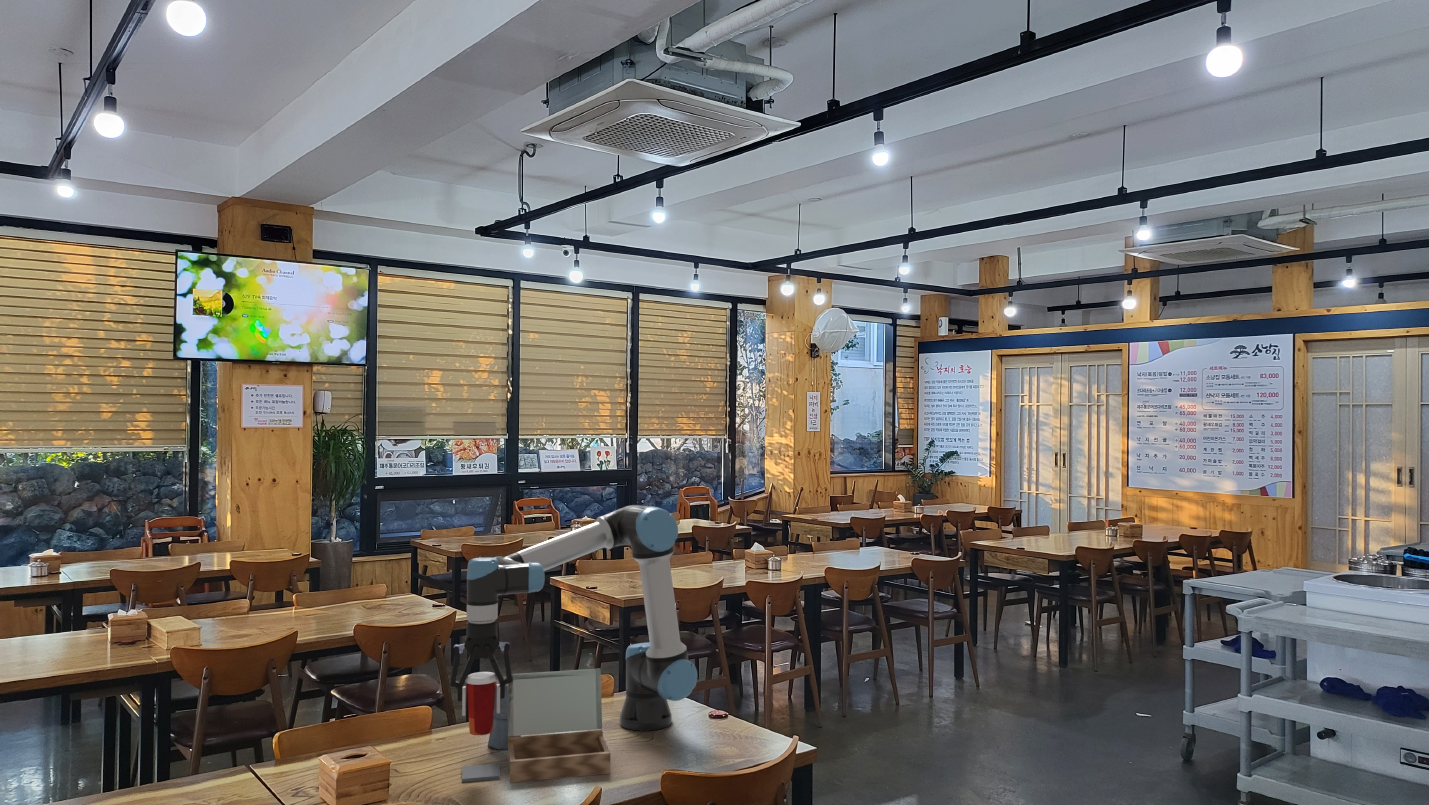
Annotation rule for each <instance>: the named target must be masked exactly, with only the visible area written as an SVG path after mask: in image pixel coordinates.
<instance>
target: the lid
mask: <svg viewBox="0 0 1429 805" xmlns="http://www.w3.org/2000/svg"><path fill="white" fill-rule="evenodd" d="M601 673H602V668H588V669H585V668H584V669H573V670H559V671H557V670H556V671H543V672H542V671H540V672H527V673H526V672H524V673H511V675H512V682H511V683H508V736H520V735H521V736H534V735H546V734H558V733H571V732H583V731H595V730H602V729H603V714H602V713H603V712H602V711H603V710H602V709H603V707H602V706H603V704H602V674H601Z"/></svg>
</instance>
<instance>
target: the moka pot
mask: <svg viewBox="0 0 1429 805" xmlns="http://www.w3.org/2000/svg"><path fill="white" fill-rule="evenodd" d="M506 677H507V675H506V674H505V676H503V678H506ZM496 678H497V677H496ZM497 684H500V683H499V681H498V678H497V681H496V687H495V704H494V720H493V731H492V732H491V733H490V734H489V736H488V741H487V742H488V743H487V745H488V746H489V747H490V748H491V749H494V750H495V749H496V750H505V751H506V750H508V684H506V685H505V697H504V699H500V713H497ZM512 737H522V735H520V736H512Z"/></svg>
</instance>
